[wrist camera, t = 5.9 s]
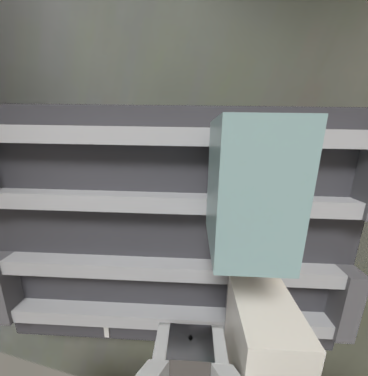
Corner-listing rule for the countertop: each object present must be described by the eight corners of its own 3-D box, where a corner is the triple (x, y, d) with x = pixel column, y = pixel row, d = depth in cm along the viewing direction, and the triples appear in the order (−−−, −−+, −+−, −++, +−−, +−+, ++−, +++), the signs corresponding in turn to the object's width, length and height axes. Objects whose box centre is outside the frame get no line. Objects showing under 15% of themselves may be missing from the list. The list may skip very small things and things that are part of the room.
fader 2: (220, 325, 12) (237, 441, 8) (225, 259, 11) (248, 348, 7) (261, 327, 12) (304, 446, 8) (270, 261, 11) (326, 352, 6)
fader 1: (204, 213, 11) (213, 275, 6) (208, 123, 9) (222, 112, 5) (252, 215, 10) (299, 278, 6) (261, 124, 9) (328, 113, 5)
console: (39, 308, 15) (0, 352, 12) (1, 108, 12) (-67, 98, 9) (313, 321, 15) (346, 372, 12) (358, 112, 11) (421, 103, 8)
